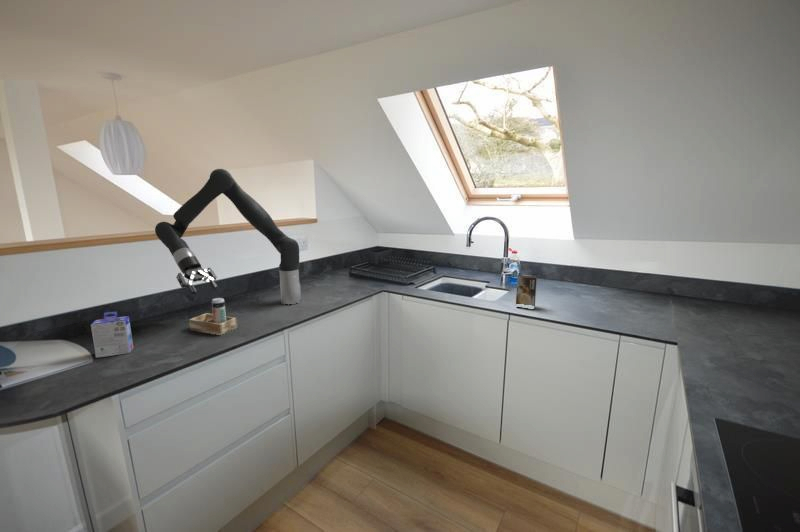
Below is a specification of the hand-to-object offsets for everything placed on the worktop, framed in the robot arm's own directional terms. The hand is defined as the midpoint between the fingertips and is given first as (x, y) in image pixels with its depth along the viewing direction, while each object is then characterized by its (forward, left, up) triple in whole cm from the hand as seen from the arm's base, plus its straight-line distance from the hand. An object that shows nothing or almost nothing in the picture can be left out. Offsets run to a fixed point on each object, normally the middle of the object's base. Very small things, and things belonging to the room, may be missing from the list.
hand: (205, 291), depth 151 cm
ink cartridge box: (+31, -10, -16) cm, 36 cm away
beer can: (+2, +8, -14) cm, 16 cm away
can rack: (+2, +4, -15) cm, 16 cm away
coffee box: (-77, +123, -16) cm, 146 cm away
